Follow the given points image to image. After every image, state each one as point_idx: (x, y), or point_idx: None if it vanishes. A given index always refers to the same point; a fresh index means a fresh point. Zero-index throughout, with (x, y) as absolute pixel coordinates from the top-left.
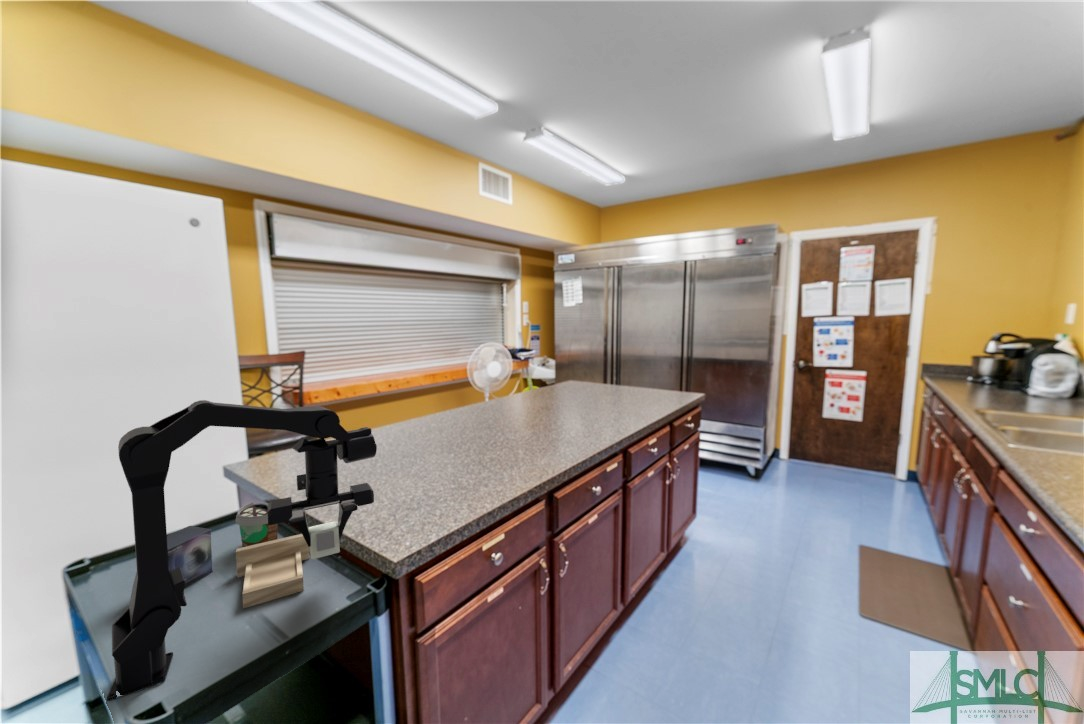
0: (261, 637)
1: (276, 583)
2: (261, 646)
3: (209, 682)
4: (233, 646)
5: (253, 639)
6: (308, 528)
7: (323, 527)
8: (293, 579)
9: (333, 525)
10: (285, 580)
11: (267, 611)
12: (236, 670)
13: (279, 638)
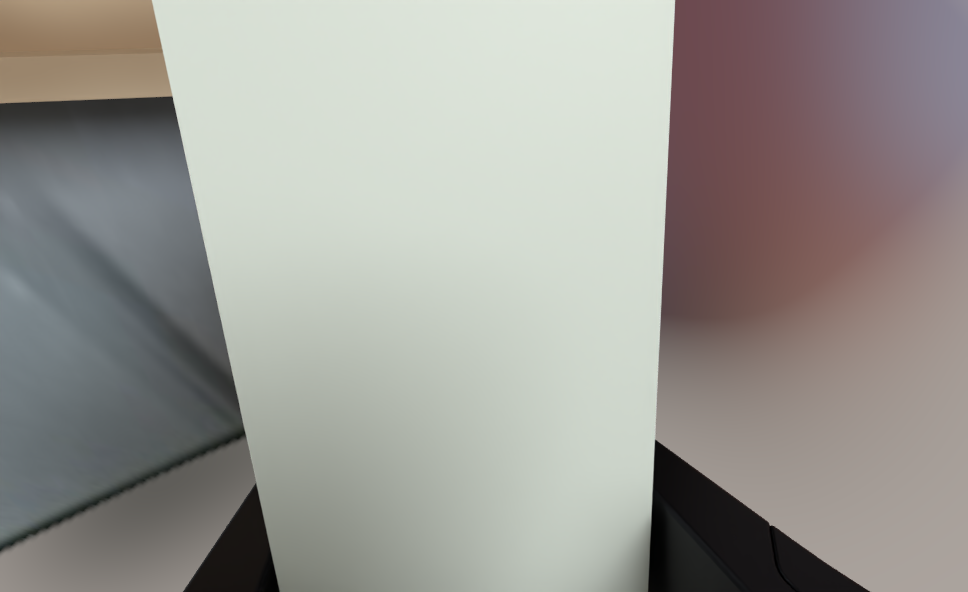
0: (135, 377)
1: (27, 83)
2: (158, 421)
3: (30, 514)
4: (18, 389)
5: (100, 377)
6: (178, 97)
7: (476, 470)
8: (167, 90)
9: (612, 470)
10: (98, 73)
11: (77, 197)
12: (109, 493)
13: (222, 403)
